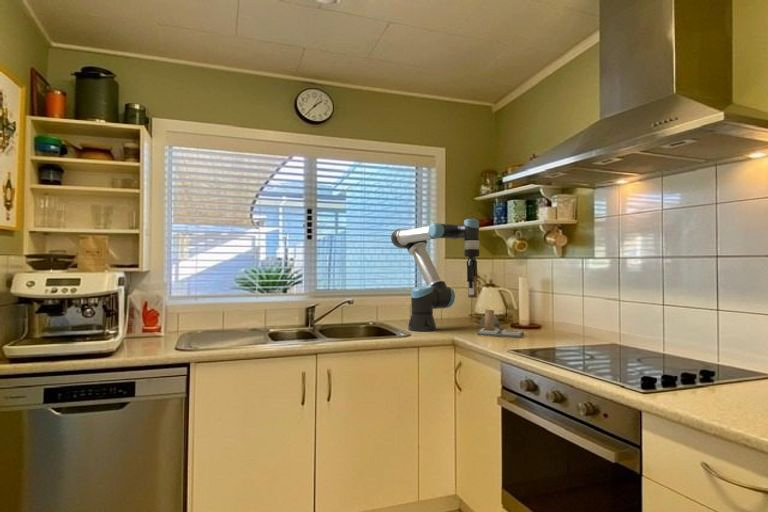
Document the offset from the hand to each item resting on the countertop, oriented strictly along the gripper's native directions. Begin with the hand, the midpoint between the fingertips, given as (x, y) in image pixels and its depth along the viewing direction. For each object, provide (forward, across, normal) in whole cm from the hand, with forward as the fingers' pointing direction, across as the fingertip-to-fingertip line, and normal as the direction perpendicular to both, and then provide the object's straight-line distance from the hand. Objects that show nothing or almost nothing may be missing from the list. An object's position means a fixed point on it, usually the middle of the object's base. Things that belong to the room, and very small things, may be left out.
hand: (472, 294), depth 226 cm
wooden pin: (+2, 0, 0) cm, 2 cm away
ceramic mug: (+20, +19, -5) cm, 28 cm away
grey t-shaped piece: (+20, +1, -14) cm, 24 cm away
